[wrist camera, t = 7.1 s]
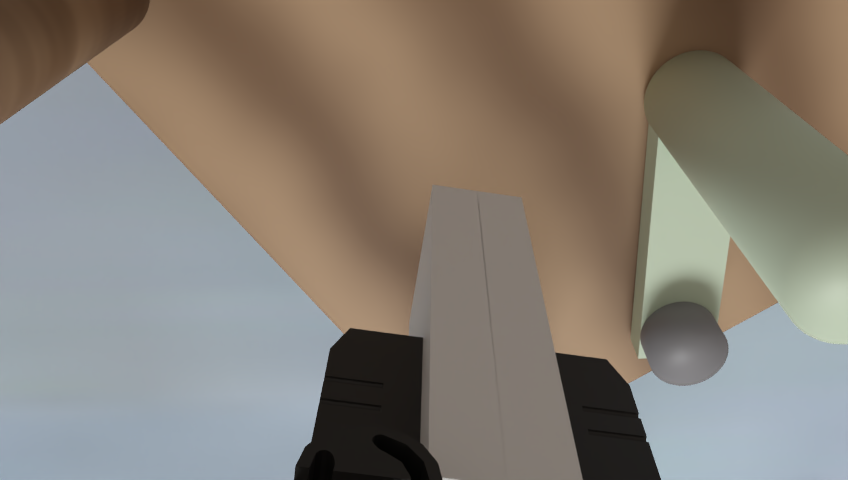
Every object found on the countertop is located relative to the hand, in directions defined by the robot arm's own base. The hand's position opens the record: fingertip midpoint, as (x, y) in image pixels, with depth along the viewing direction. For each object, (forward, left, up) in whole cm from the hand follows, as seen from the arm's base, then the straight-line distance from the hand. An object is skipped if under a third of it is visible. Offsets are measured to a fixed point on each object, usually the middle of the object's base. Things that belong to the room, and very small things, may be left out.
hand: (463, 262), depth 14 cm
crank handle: (+3, -9, -12) cm, 15 cm away
